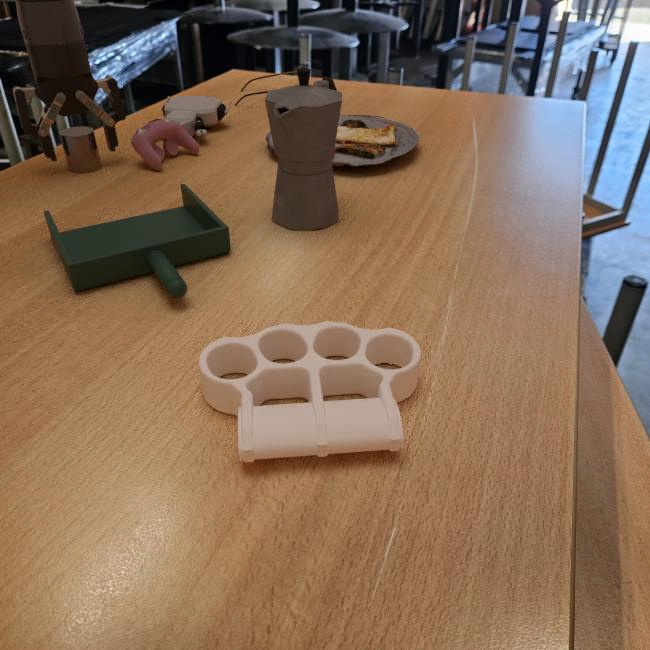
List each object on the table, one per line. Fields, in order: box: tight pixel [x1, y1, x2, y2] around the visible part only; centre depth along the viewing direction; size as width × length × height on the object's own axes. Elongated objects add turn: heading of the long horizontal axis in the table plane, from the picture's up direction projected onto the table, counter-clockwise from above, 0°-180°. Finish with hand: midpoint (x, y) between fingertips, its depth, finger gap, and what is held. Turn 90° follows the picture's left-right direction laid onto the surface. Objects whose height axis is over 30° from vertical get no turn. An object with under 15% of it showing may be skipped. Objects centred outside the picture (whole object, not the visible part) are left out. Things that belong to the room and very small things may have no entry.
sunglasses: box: [234, 69, 297, 107], centre depth 120 cm, size 14×15×5 cm
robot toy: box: [147, 95, 233, 138], centre depth 101 cm, size 12×4×15 cm
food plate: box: [265, 114, 422, 167], centre depth 95 cm, size 25×23×4 cm
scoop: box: [42, 183, 232, 299], centre depth 64 cm, size 23×17×4 cm
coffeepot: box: [264, 66, 343, 232], centre depth 70 cm, size 15×9×18 cm, turn 157°
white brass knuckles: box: [198, 320, 422, 463], centre depth 46 cm, size 3×18×15 cm
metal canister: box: [59, 126, 103, 174], centre depth 86 cm, size 5×5×6 cm
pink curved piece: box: [130, 119, 200, 172], centre depth 89 cm, size 10×5×7 cm, turn 149°
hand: (83, 154), depth 87 cm, fingers open, 8 cm apart
